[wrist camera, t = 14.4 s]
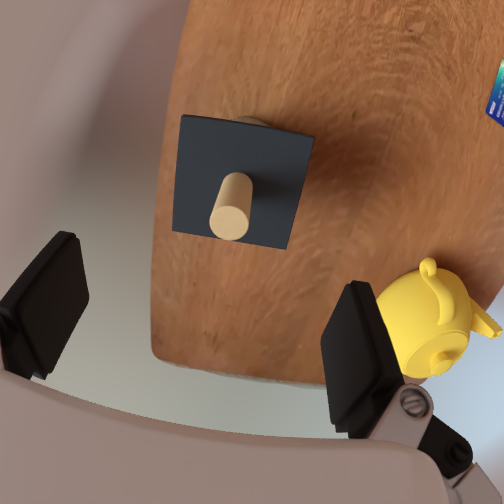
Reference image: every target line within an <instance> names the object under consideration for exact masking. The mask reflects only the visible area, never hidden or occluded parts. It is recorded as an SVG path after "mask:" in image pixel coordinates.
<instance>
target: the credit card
mask: <svg viewBox="0 0 504 504" xmlns="http://www.w3.org/2000/svg"><path fill="white" fill-rule="evenodd" d="M486 113H487V114H488V115H489V116H490V117H492V118H493V119H494V120H496V121H497V122H498V123H499V124H501V125H502V126H503V127H504V59H502V61H501V65H500V68H499V72H498V75H497V78H496V82H495V85H494V88H493V91H492V94H491V97H490V100H489V103H488V106H487V109H486Z"/></svg>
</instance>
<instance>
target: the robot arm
mask: <svg viewBox="0 0 504 504" xmlns="http://www.w3.org/2000/svg"><path fill="white" fill-rule="evenodd" d="M88 301H89V292H88V287H87V282H86V276H85V271H84V265H83V259H82V253H81V246H80V241H79V239H78V238H76V235H75V234H74V233H70V232H65V231H59V232H58V233H57V234H56V235H55V236H54V237H53V238H52V239H51V240H50V241H49V243H48V244H47V245H46V246H45V247H44V248H43V249H42V250H41V252H40V253H39V254H38V255H37V256H36V257H35V259H34V260H33V261H32V262H31V263H30V264H29V266H28V267H27V268H26V269H25V270H24V272H23V273H22V274H21V275H20V277H19V278H18V279H17V280H16V282H15V283H14V284H13V285H12V287H11V288H10V289H9V290H8V292H7V293H6V294H5V296H4V297H3V298H2V300H1V301H0V504H502V499H501V496H500V494H499V492H498V491H497V489H496V488H495V486H494V485H493V484H492V482H491V481H490V480H489V478H488V477H487V476H486V474H485V473H484V472H483V470H482V469H481V467H480V466H479V465H478V464H477V462H476V463H475V464H473V463H472V459H473V452H472V448H471V446H470V444H469V443H468V441H466V439H465V438H463V437H462V436H461V435H459V434H458V433H457V432H455V431H454V430H453V429H451V428H450V427H449V426H447V425H446V424H445V423H443V422H442V421H441V420H439V419H438V418H437V417H436V416H434V415H433V410H434V405H433V401H432V398H431V396H430V395H429V393H428V392H427V391H426V390H425V389H424V388H423V387H421V386H419V385H417V384H412V383H409V384H405V382H404V379H403V376H402V373H401V369H400V366H399V363H398V360H397V357H396V354H395V350H394V347H393V344H392V341H391V338H390V336H389V333H388V330H387V327H386V325H385V323H384V321H383V318H382V315H381V313H380V310H379V307H378V304H377V302H376V299H375V296H374V294H373V291H372V288H371V286H370V284H369V283H368V282H362V281H356V280H353V281H352V282H351V283H350V284H346V285H345V287H344V290H343V292H342V294H341V296H340V298H339V300H338V303H337V305H336V307H335V309H334V311H333V313H332V315H331V317H330V319H329V322H328V324H327V326H326V328H325V330H324V332H323V334H322V336H321V351H322V358H323V365H324V372H325V380H326V388H327V395H328V404H329V412H330V420H331V423H332V424H334V425H335V428H336V432H337V433H341V432H342V433H343V432H348V438H349V439H319V438H293V437H276V436H263V435H252V434H241V433H233V432H225V431H218V430H210V429H204V428H198V427H191V426H186V425H181V424H176V423H171V422H166V421H160V420H156V419H152V418H148V417H143V416H139V415H135V414H131V413H127V412H123V411H120V410H116V409H112V408H109V407H105V406H102V405H99V404H95V403H92V402H89V401H86V400H82V399H79V398H77V397H74V396H71V395H68V394H65V393H62V392H59V391H57V390H54V389H51V388H49V387H46V386H43V385H41V384H38V383H35V382H33V381H30V379H31V377H32V375H33V376H35V377H38V378H40V379H43V380H45V379H46V377H47V375H48V373H49V374H50V373H52V371H53V370H54V368H55V365H56V363H57V361H58V359H59V357H60V355H61V353H62V351H63V349H64V347H65V345H66V343H67V341H68V340H69V338H70V336H71V334H72V332H73V330H74V328H75V326H76V324H77V322H78V320H79V319H80V317H81V315H82V313H83V312H84V310H85V308H86V306H87V304H88Z"/></svg>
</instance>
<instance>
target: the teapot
mask: <svg viewBox="0 0 504 504" xmlns="http://www.w3.org/2000/svg"><path fill="white" fill-rule="evenodd" d="M419 269H420V270H415V271H412V272H409V273H407V274H405V275H403V276H401V277H399V278H397V279H396V280H395V281H393V282H392V283H391V284H390V285H388V286H387V287H386V289H385V290H384V291H383V292H382V293H381V294H380V296H379V297H378V298H377V300H376V302H377V304H378V307H379V310H380V313H381V315H382V318H383V321H384V323H385V325H386V327H387V330H388V333H389V336H390V338H391V341H392V344H393V347H394V350H395V354H396V357H397V360H398V363H399V366H400V369H401V372H402V373H403V374H405V375H407V376H409V377H412V378H426V377H431V376H437V375H441V374H443V373H445V372H446V371H448V370H449V369H450V368H451V367H452V365H453V364H454V363H456V362H457V361H458V360H459V359H460V358H461V356H462V355H463V354H464V352H465V350H466V348H467V345H468V342H469V338H470V330H472V331H475V332H477V333H480V334H482V335H484V336H487V337H489V338H491V339H493V338H496V337H499V336H500V334H501V332H502V328H501V327H500V326H499V325H498V324H497V323H496V322H495V321H494V320H493V319H492V318H491V317H490V316H489V315H488V314H487V313H486V312H485V311H484V310H483V309H482V308H481V307H480V306H479V305H478V304H477V303H476V302H475V301H474V300H473V299H472V298H471V297H469V296H468V293H467V290H466V288H465V286H464V284H463V282H462V281H461V279H460V278H459V277H458V276H457V275H456V274H454V273H452V272H450V271H448V270H445V269H440V268H437V266H436V262H435V260H434V259H433V258H430V257H426V258H424V259H423V260H422V261H421V263H420V267H419Z"/></svg>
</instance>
